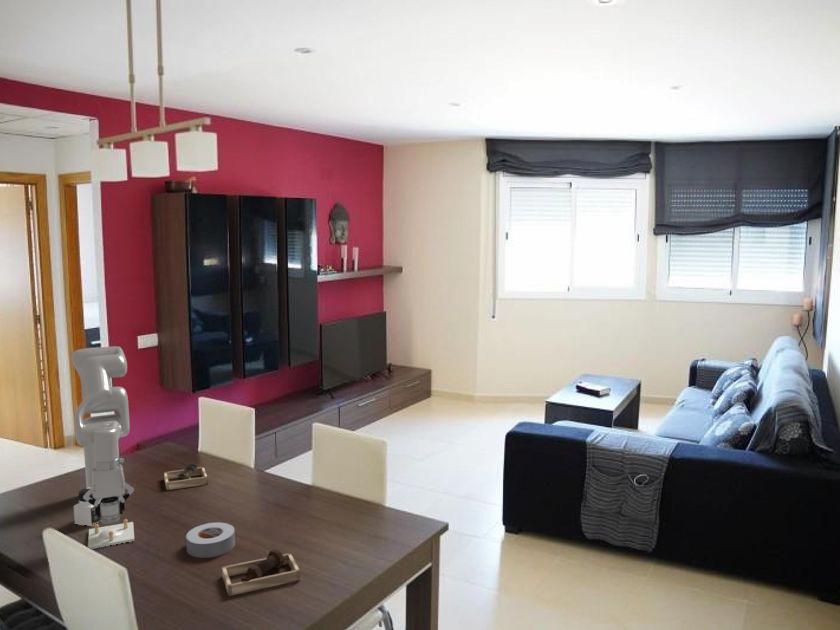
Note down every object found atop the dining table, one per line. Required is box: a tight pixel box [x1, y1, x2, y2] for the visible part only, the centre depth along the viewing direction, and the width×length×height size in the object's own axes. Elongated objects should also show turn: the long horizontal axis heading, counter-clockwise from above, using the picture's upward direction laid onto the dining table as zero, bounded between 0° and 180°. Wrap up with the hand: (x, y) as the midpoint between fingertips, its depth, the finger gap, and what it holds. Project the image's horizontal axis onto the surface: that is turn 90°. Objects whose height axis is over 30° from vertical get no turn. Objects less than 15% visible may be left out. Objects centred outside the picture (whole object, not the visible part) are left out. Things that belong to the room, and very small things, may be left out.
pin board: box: [87, 518, 135, 550], centre depth 224 cm, size 14×14×4 cm
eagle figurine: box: [175, 463, 197, 480], centre depth 274 cm, size 8×7×9 cm
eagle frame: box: [163, 466, 209, 491], centre depth 273 cm, size 13×16×3 cm
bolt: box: [240, 548, 284, 582], centre depth 198 cm, size 6×5×15 cm
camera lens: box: [99, 496, 121, 525], centre depth 223 cm, size 6×6×8 cm
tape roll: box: [185, 522, 236, 559], centre depth 218 cm, size 15×15×5 cm
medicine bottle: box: [73, 487, 101, 527], centre depth 235 cm, size 7×7×12 cm
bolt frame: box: [221, 552, 301, 597], centre depth 198 cm, size 12×21×3 cm, turn 115°
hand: (110, 514), depth 223 cm, fingers closed on camera lens, 6 cm apart
